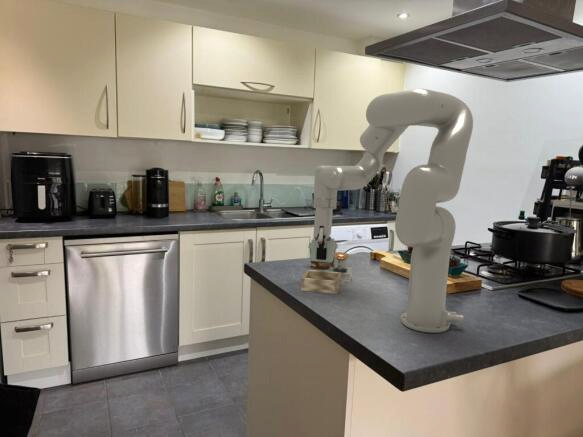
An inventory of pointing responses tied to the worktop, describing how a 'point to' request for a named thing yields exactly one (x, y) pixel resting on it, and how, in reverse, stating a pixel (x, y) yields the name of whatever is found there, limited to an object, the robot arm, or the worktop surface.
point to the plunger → (340, 261)
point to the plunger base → (344, 274)
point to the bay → (321, 281)
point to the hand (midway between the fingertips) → (322, 256)
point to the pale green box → (328, 245)
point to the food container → (322, 264)
